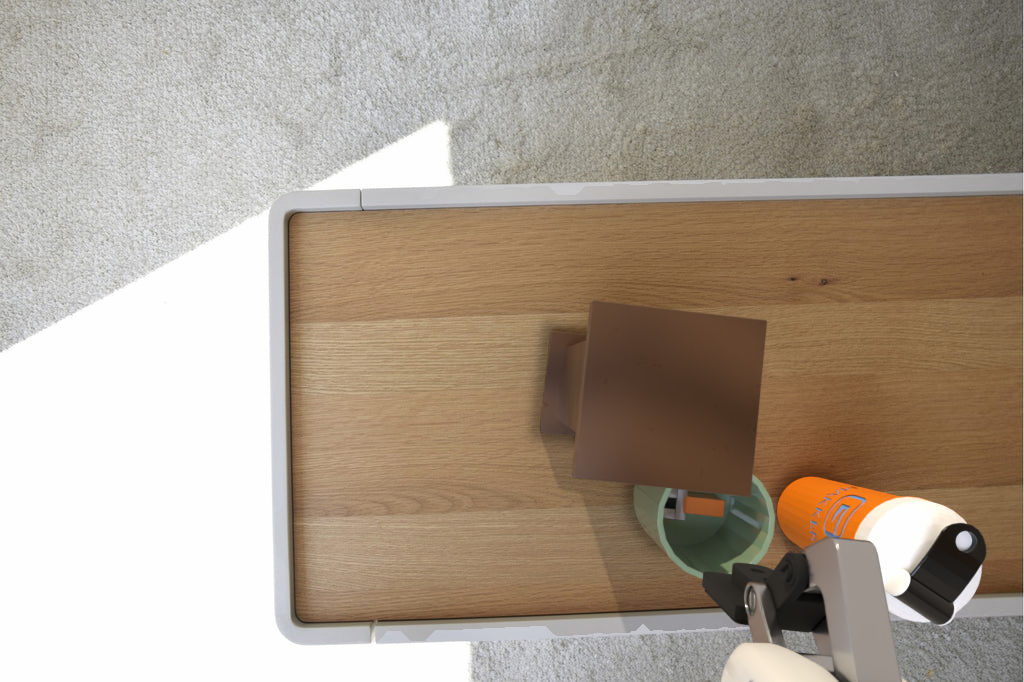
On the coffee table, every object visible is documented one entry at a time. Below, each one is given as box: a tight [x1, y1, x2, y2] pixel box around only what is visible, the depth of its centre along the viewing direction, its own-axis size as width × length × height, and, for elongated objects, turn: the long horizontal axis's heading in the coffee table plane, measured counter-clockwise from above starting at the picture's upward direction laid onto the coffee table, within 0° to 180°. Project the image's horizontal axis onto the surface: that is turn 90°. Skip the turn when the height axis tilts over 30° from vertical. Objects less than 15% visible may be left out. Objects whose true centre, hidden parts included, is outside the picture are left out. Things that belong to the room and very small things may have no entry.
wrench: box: [663, 489, 725, 521], centre depth 63 cm, size 6×3×3 cm, turn 84°
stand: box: [538, 299, 768, 497], centre depth 51 cm, size 10×10×29 cm
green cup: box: [632, 474, 776, 580], centre depth 60 cm, size 10×10×10 cm
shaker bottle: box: [776, 476, 988, 627], centre depth 56 cm, size 9×9×20 cm
